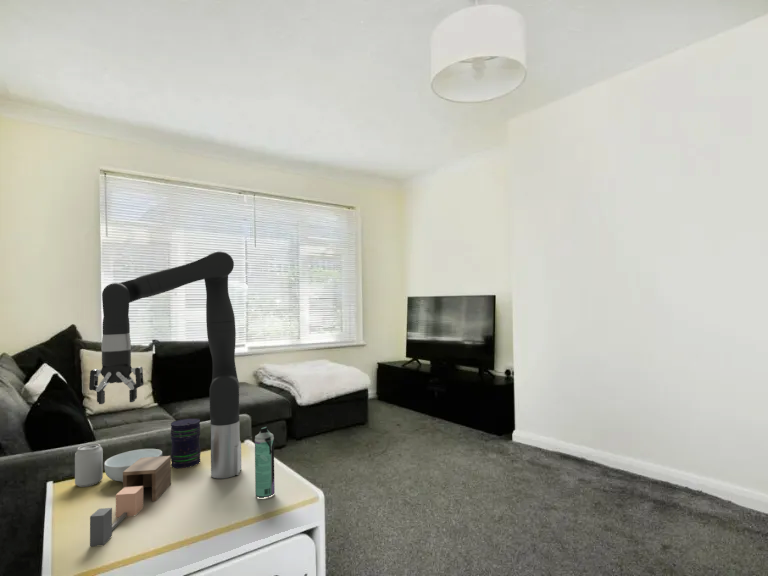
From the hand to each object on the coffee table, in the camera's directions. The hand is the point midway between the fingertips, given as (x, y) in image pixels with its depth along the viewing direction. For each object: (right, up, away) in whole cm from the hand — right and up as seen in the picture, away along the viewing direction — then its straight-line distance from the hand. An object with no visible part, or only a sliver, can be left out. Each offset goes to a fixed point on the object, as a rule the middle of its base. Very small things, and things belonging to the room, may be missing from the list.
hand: (117, 402), depth 130 cm
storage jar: (+9, -29, +26) cm, 40 cm away
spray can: (+46, -27, -3) cm, 53 cm away
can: (-15, -29, +10) cm, 34 cm away
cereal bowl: (-3, -29, +14) cm, 32 cm away
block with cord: (+11, -27, -18) cm, 35 cm away
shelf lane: (+9, -28, +1) cm, 29 cm away
